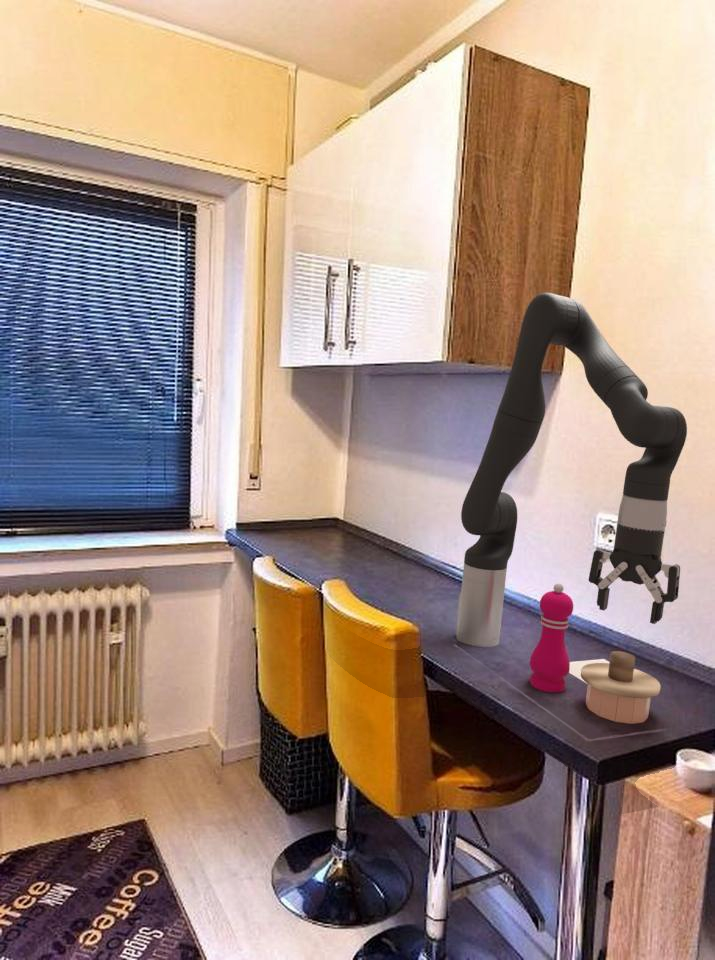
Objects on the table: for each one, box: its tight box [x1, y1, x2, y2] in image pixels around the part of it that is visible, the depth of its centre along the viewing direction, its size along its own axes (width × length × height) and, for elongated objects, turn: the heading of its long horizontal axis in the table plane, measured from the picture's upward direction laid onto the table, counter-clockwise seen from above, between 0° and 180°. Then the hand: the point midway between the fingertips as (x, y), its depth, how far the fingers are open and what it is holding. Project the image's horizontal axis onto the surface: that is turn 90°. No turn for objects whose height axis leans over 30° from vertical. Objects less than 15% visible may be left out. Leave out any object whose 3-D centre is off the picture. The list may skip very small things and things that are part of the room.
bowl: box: [585, 684, 652, 725], centre depth 120 cm, size 10×10×6 cm
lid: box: [581, 650, 662, 698], centre depth 119 cm, size 13×13×5 cm
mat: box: [568, 658, 610, 685], centre depth 136 cm, size 13×13×1 cm
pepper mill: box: [529, 583, 574, 693], centre depth 127 cm, size 7×7×20 cm
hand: (627, 615), depth 118 cm, fingers open, 8 cm apart
